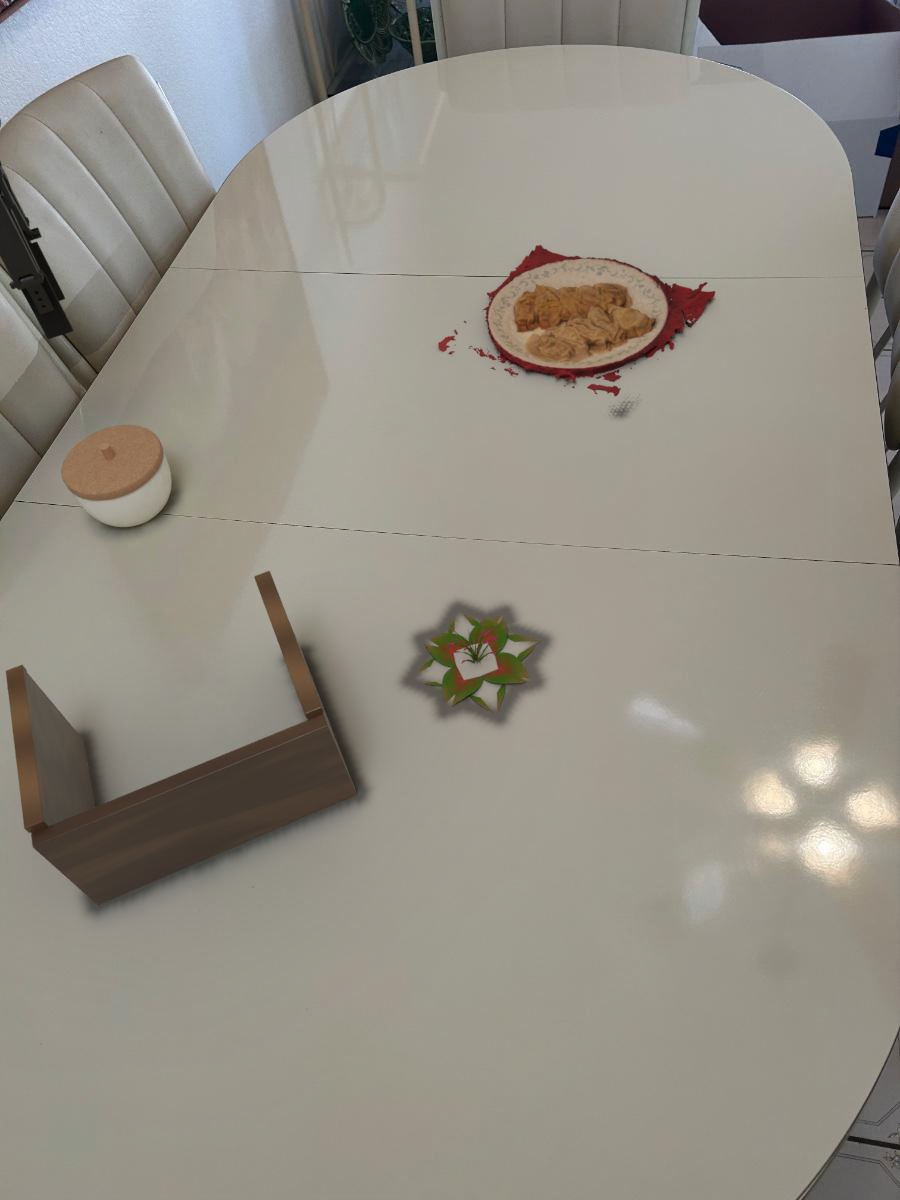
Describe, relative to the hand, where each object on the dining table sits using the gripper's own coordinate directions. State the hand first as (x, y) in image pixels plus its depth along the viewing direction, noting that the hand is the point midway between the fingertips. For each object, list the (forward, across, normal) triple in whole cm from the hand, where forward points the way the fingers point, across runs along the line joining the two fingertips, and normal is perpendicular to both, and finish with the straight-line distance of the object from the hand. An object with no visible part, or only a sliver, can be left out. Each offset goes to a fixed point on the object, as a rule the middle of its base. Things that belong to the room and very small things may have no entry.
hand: (56, 316), depth 100 cm
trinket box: (+17, -14, 0) cm, 22 cm away
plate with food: (+17, -10, -57) cm, 60 cm away
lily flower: (+17, -51, -26) cm, 59 cm away
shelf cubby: (+17, -50, 0) cm, 53 cm away
